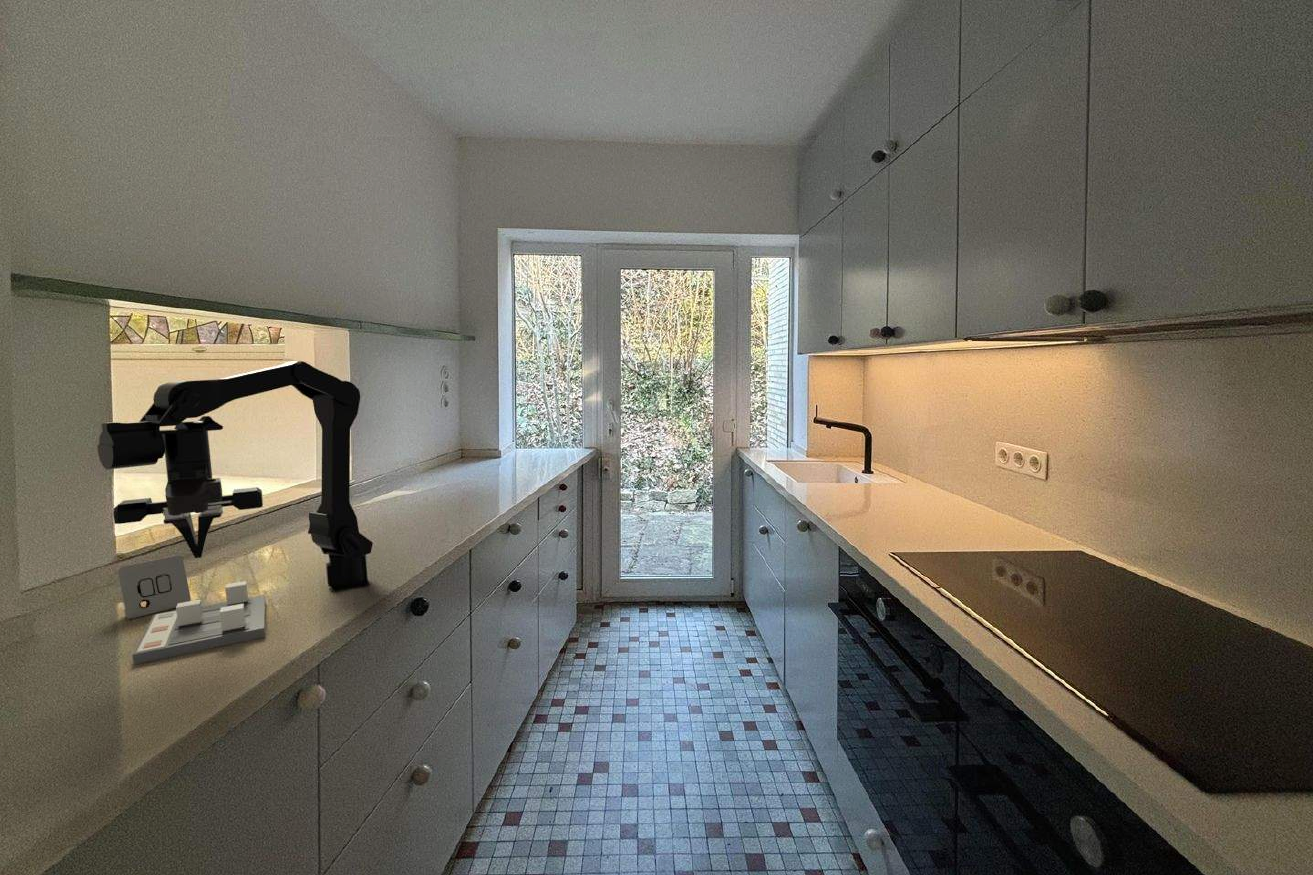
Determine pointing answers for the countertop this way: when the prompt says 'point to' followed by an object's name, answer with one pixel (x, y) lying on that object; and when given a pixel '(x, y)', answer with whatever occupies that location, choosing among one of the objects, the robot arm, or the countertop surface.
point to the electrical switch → (153, 586)
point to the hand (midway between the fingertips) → (198, 557)
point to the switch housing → (198, 631)
